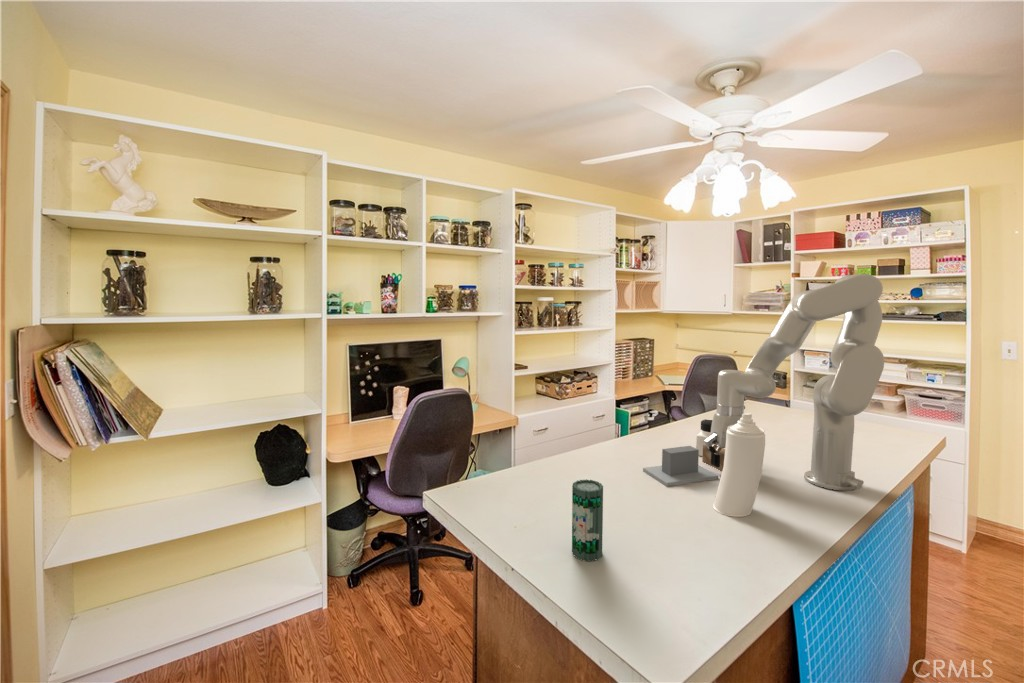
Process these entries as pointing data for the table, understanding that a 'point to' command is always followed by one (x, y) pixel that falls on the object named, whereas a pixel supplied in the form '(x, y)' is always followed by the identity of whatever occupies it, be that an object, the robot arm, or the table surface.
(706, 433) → the medicine bottle
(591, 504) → the can
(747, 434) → the spray can
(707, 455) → the walnut bar
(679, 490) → the table surface
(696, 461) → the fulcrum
